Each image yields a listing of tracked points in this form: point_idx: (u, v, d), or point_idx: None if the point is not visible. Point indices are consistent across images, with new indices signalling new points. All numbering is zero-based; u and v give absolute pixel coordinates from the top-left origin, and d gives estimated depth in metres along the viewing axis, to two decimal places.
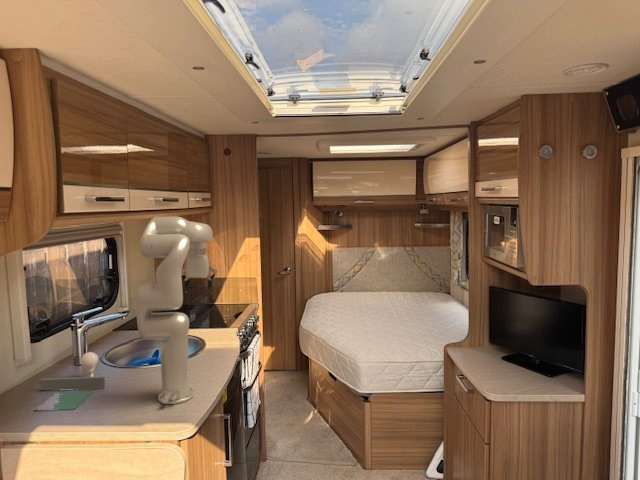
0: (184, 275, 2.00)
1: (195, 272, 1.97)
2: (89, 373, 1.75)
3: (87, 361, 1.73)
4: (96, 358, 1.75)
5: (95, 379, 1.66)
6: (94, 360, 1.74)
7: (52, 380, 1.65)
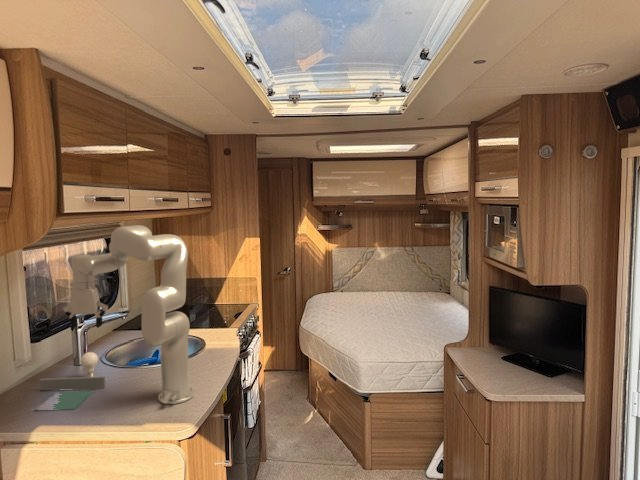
0: (70, 311, 1.74)
1: (80, 309, 1.71)
2: (89, 373, 1.75)
3: (87, 361, 1.73)
4: (96, 358, 1.75)
5: (95, 379, 1.66)
6: (94, 360, 1.74)
7: (52, 380, 1.65)
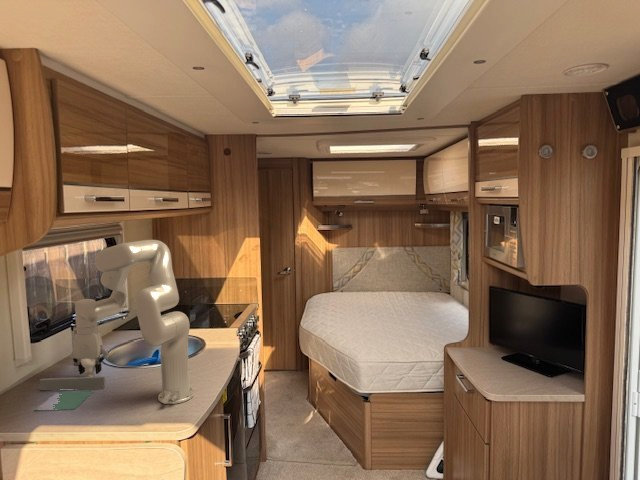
0: None
1: (84, 353, 1.72)
2: (89, 373, 1.75)
3: (87, 361, 1.73)
4: None
5: (95, 379, 1.66)
6: (94, 360, 1.74)
7: (52, 380, 1.65)
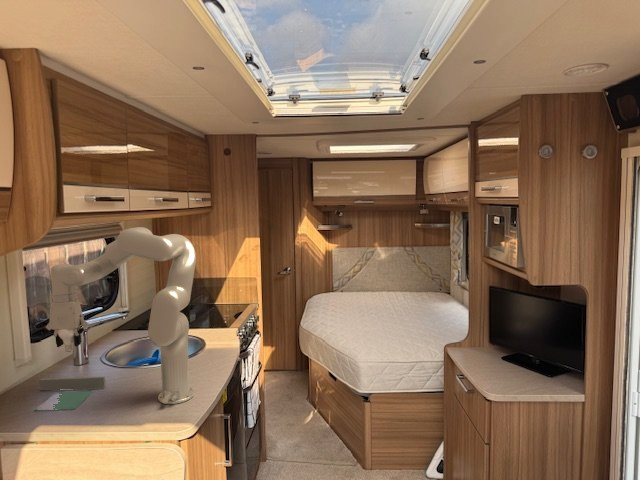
0: None
1: (61, 324, 1.56)
2: (67, 346, 1.59)
3: (64, 331, 1.56)
4: None
5: (95, 379, 1.66)
6: (72, 331, 1.58)
7: (52, 380, 1.65)
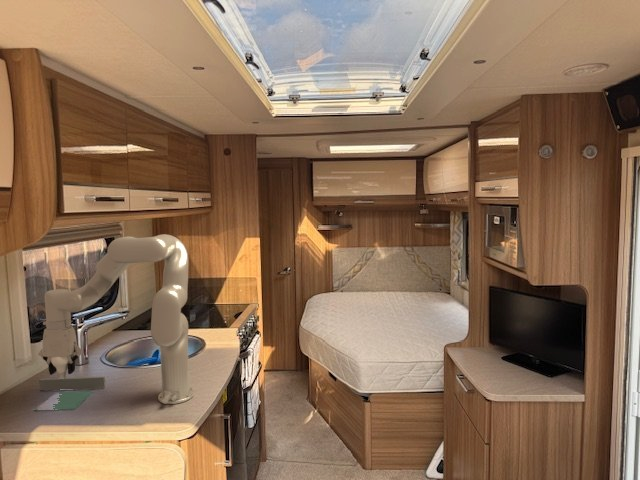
0: None
1: (54, 351, 1.52)
2: (60, 373, 1.54)
3: (58, 359, 1.52)
4: None
5: (95, 379, 1.66)
6: (66, 359, 1.53)
7: (52, 380, 1.65)
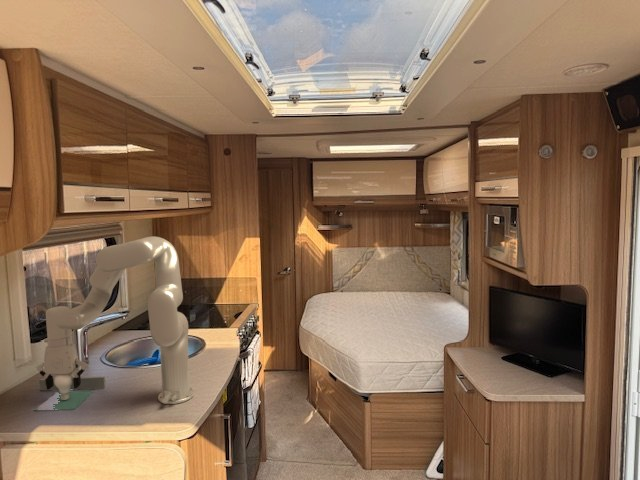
0: (44, 370, 1.56)
1: (56, 368, 1.52)
2: (63, 394, 1.55)
3: (61, 380, 1.53)
4: (71, 377, 1.55)
5: (95, 379, 1.66)
6: (69, 380, 1.54)
7: None
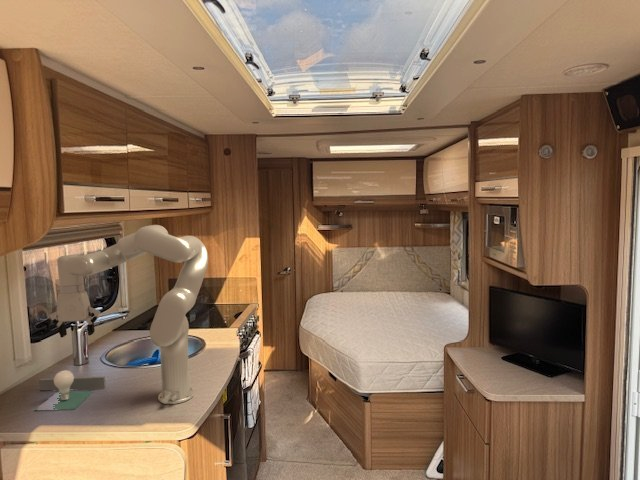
0: (57, 319, 1.56)
1: (69, 315, 1.53)
2: (63, 394, 1.55)
3: (60, 381, 1.53)
4: (71, 377, 1.55)
5: (95, 379, 1.66)
6: (68, 380, 1.54)
7: (52, 380, 1.65)
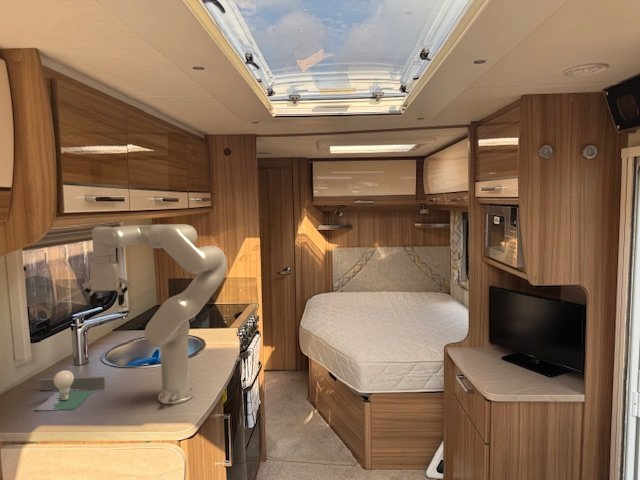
0: (89, 288, 1.62)
1: (101, 285, 1.58)
2: (63, 394, 1.55)
3: (60, 381, 1.53)
4: (71, 377, 1.55)
5: (95, 379, 1.66)
6: (68, 380, 1.54)
7: (52, 380, 1.65)
